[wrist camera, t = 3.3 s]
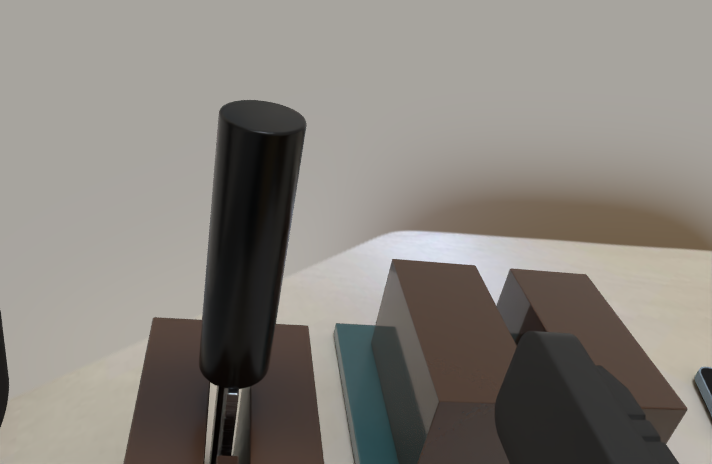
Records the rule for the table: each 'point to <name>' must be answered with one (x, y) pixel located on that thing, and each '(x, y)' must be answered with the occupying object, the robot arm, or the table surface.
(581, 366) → the robot arm
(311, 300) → the table surface
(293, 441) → the knife block
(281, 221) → the knife
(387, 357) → the twin blocks on tray
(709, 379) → the smartphone
